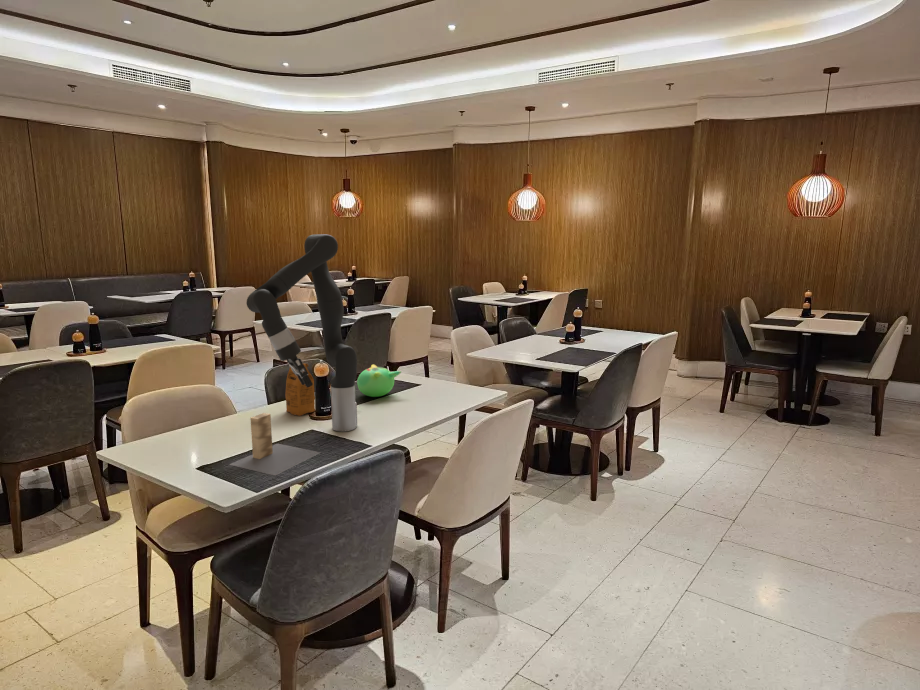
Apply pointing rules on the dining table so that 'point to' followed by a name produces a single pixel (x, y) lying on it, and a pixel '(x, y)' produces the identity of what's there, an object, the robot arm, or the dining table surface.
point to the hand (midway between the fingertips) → (307, 385)
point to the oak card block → (261, 435)
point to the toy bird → (376, 381)
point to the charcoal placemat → (276, 460)
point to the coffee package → (299, 394)
